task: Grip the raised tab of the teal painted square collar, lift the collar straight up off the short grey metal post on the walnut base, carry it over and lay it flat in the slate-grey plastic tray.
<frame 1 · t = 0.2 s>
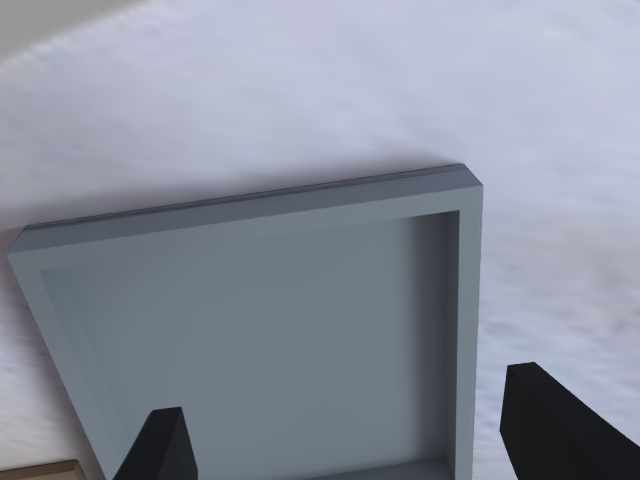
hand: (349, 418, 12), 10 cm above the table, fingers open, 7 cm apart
tray: (279, 361, 24), on the table
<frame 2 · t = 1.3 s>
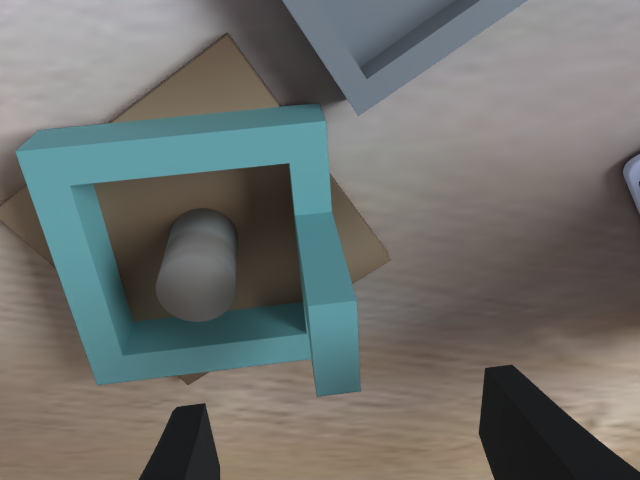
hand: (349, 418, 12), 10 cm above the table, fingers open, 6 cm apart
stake: (205, 230, 21), on the table
collar: (204, 238, 20), point 1 cm above the table, touching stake
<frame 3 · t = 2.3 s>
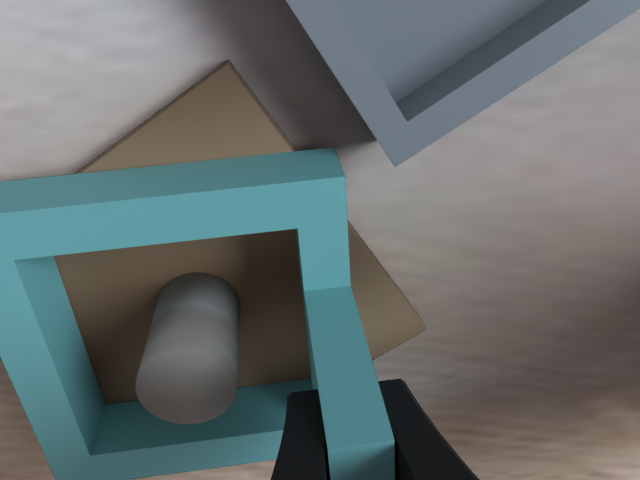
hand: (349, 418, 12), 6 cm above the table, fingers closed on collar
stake: (201, 295, 17), on the table
collar: (190, 308, 17), point 1 cm above the table, touching gripper, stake
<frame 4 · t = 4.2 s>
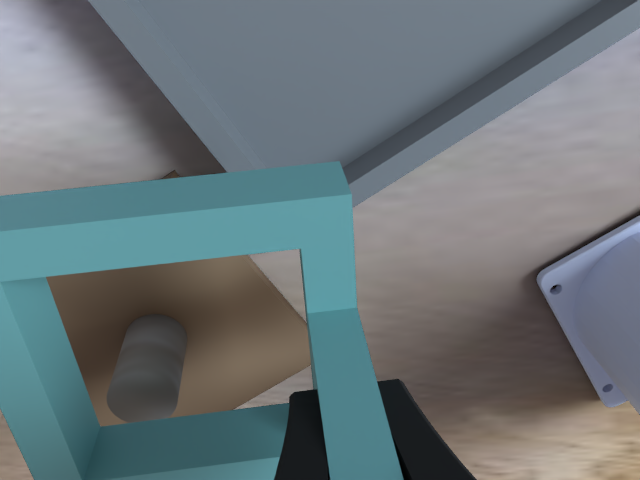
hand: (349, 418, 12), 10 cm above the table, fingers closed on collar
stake: (158, 329, 23), on the table
collar: (189, 328, 16), point 6 cm above the table, touching gripper
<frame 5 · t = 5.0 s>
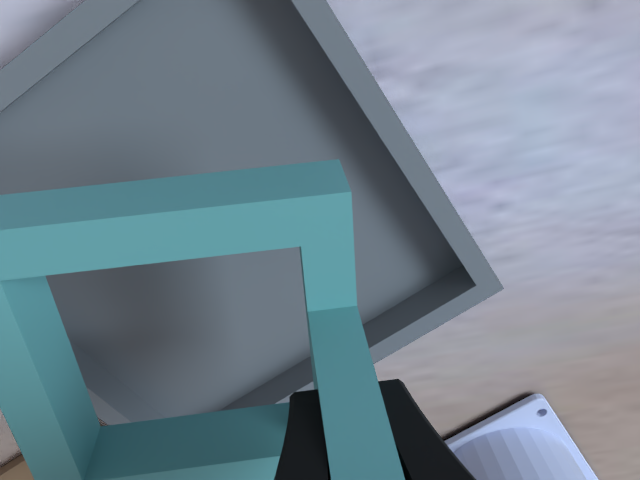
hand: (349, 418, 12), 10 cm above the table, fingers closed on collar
tray: (206, 227, 21), on the table
collar: (189, 327, 16), point 6 cm above the table, touching gripper
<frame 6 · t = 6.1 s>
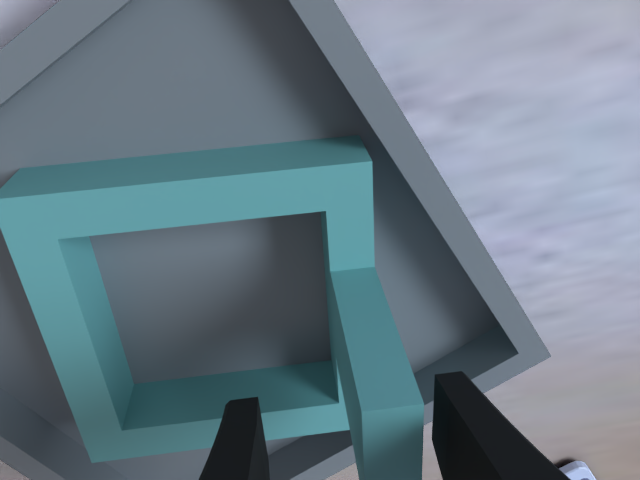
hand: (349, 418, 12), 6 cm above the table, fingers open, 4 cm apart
tray: (196, 284, 18), on the table
collar: (218, 290, 17), resting on tray
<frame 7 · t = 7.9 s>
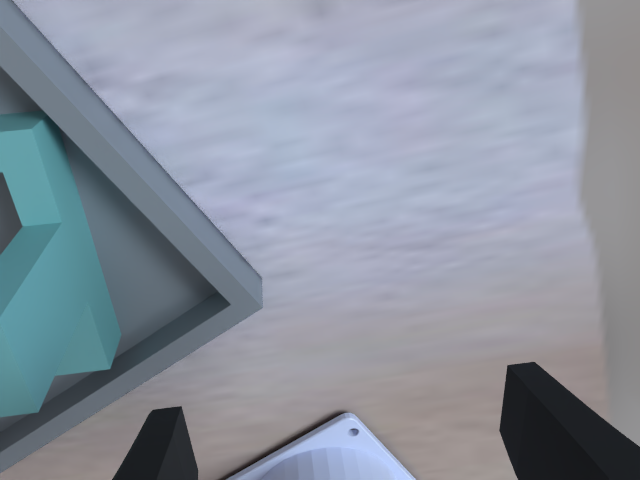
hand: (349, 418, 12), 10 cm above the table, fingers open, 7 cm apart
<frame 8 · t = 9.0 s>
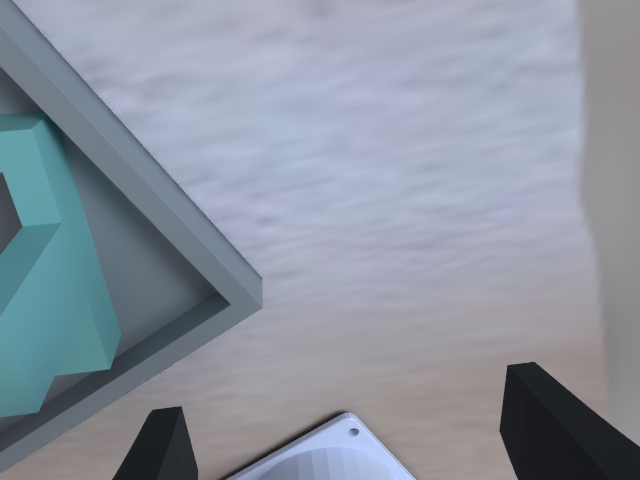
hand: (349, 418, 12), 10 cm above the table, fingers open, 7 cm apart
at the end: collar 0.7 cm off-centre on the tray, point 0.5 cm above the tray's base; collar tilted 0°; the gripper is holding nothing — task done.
